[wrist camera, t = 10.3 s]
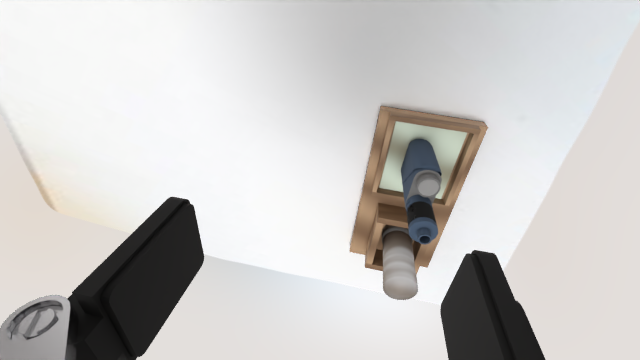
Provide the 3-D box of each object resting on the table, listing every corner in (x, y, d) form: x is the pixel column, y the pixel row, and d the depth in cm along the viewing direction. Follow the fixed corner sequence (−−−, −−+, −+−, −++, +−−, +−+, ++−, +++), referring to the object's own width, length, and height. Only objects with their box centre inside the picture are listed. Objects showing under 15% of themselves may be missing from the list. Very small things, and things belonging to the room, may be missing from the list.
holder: (380, 106, 33) (380, 145, 24) (483, 122, 32) (523, 169, 23) (350, 244, 44) (342, 306, 35) (425, 259, 43) (437, 327, 34)
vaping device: (397, 175, 35) (404, 247, 25) (410, 134, 32) (424, 196, 22) (419, 179, 35) (435, 254, 25) (434, 138, 32) (459, 203, 22)
